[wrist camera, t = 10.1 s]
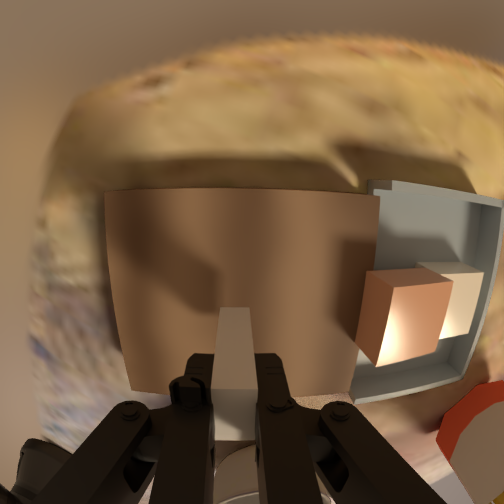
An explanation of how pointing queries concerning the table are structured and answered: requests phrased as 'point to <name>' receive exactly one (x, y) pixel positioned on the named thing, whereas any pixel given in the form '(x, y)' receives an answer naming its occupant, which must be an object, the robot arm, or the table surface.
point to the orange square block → (402, 314)
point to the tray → (431, 250)
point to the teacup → (244, 480)
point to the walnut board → (240, 277)
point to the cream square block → (458, 295)
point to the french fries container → (477, 442)
